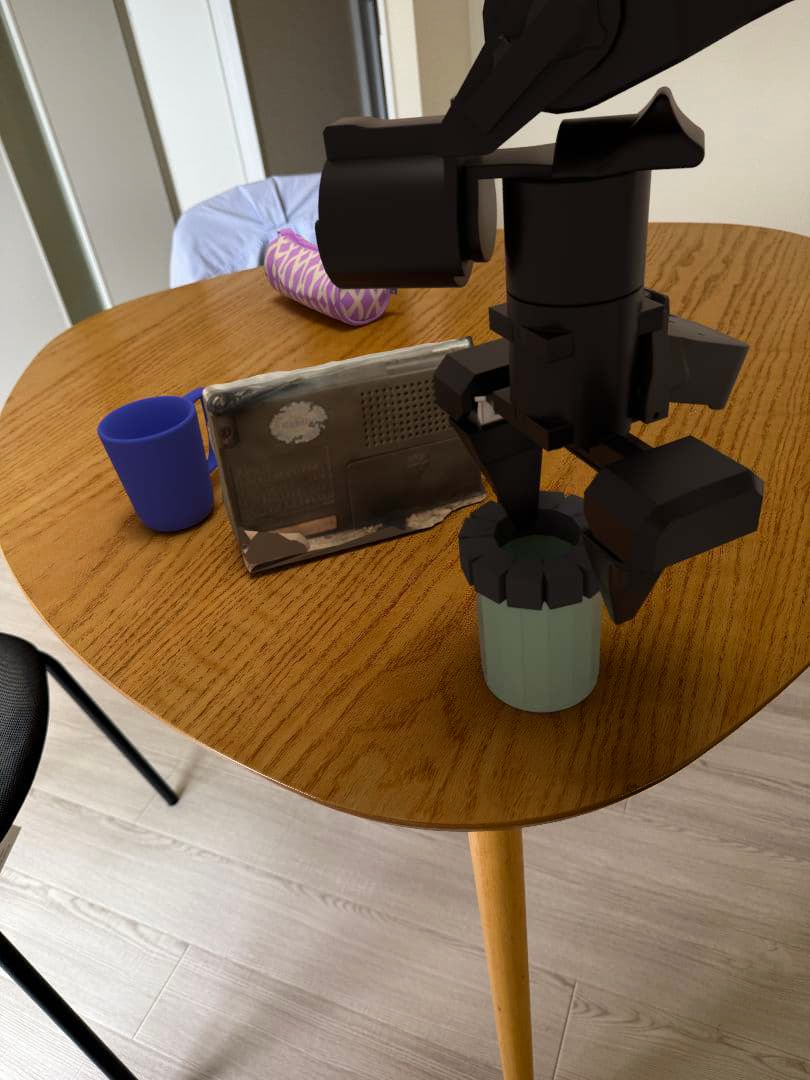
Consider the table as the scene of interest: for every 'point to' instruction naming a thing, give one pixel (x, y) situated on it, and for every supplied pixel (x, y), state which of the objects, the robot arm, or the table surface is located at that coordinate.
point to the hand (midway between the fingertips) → (570, 571)
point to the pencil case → (318, 282)
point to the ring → (527, 577)
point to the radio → (338, 454)
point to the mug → (162, 459)
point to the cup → (540, 642)
